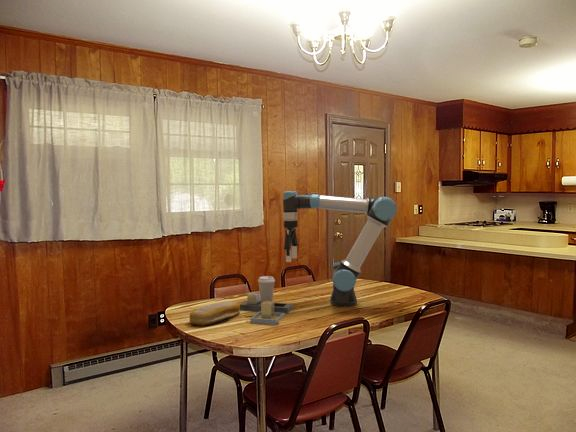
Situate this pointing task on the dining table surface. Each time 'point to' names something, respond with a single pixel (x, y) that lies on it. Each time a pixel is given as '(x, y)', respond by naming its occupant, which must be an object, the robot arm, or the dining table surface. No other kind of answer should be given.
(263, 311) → the tan rectangular block
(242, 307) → the grey slotted holder
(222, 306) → the bread
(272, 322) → the parts tray
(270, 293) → the coffee cup
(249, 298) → the grey rectangular block
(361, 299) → the dining table surface
